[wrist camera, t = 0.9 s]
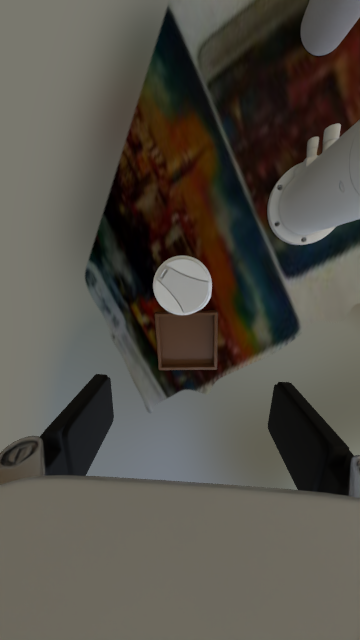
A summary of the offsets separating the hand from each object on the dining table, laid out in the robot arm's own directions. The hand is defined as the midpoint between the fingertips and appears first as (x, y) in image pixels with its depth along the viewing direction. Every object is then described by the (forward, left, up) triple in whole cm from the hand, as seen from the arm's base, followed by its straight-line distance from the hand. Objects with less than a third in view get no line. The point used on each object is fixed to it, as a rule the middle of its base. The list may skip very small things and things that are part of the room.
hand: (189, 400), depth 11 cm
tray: (+7, -1, -28) cm, 29 cm away
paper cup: (-5, -1, -28) cm, 29 cm away
